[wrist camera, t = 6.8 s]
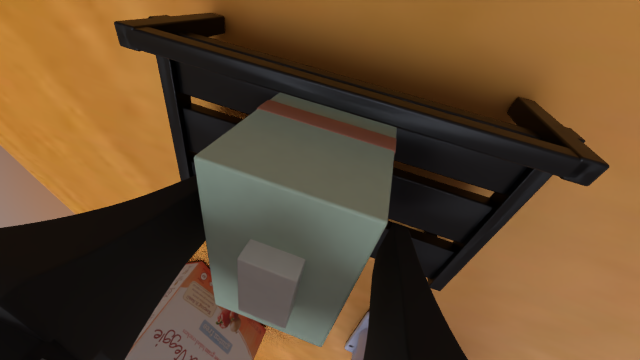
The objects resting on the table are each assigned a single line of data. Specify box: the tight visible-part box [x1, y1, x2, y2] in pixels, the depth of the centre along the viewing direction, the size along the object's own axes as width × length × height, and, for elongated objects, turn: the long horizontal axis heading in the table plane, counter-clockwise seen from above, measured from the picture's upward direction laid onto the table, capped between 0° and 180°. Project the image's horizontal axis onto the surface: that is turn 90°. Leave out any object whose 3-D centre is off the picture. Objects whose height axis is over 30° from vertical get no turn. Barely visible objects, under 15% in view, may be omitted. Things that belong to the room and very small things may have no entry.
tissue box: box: [194, 93, 397, 347], centre depth 10 cm, size 8×5×6 cm, turn 169°
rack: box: [114, 13, 609, 291], centre depth 13 cm, size 10×16×6 cm, turn 79°
